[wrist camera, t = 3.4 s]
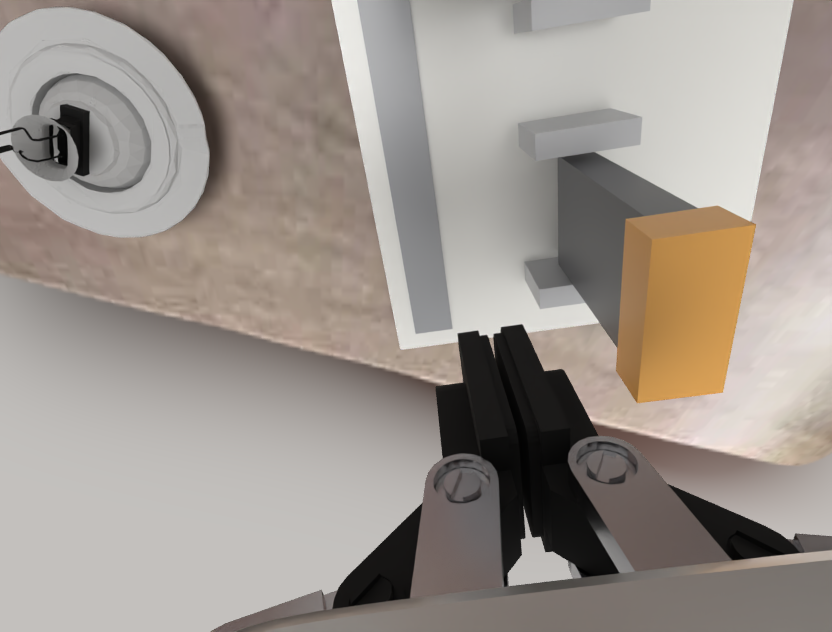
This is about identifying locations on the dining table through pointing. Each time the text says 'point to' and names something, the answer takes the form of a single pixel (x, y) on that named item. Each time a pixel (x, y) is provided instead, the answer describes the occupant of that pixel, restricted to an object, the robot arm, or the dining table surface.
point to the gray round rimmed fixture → (99, 123)
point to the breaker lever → (653, 275)
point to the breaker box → (541, 135)
